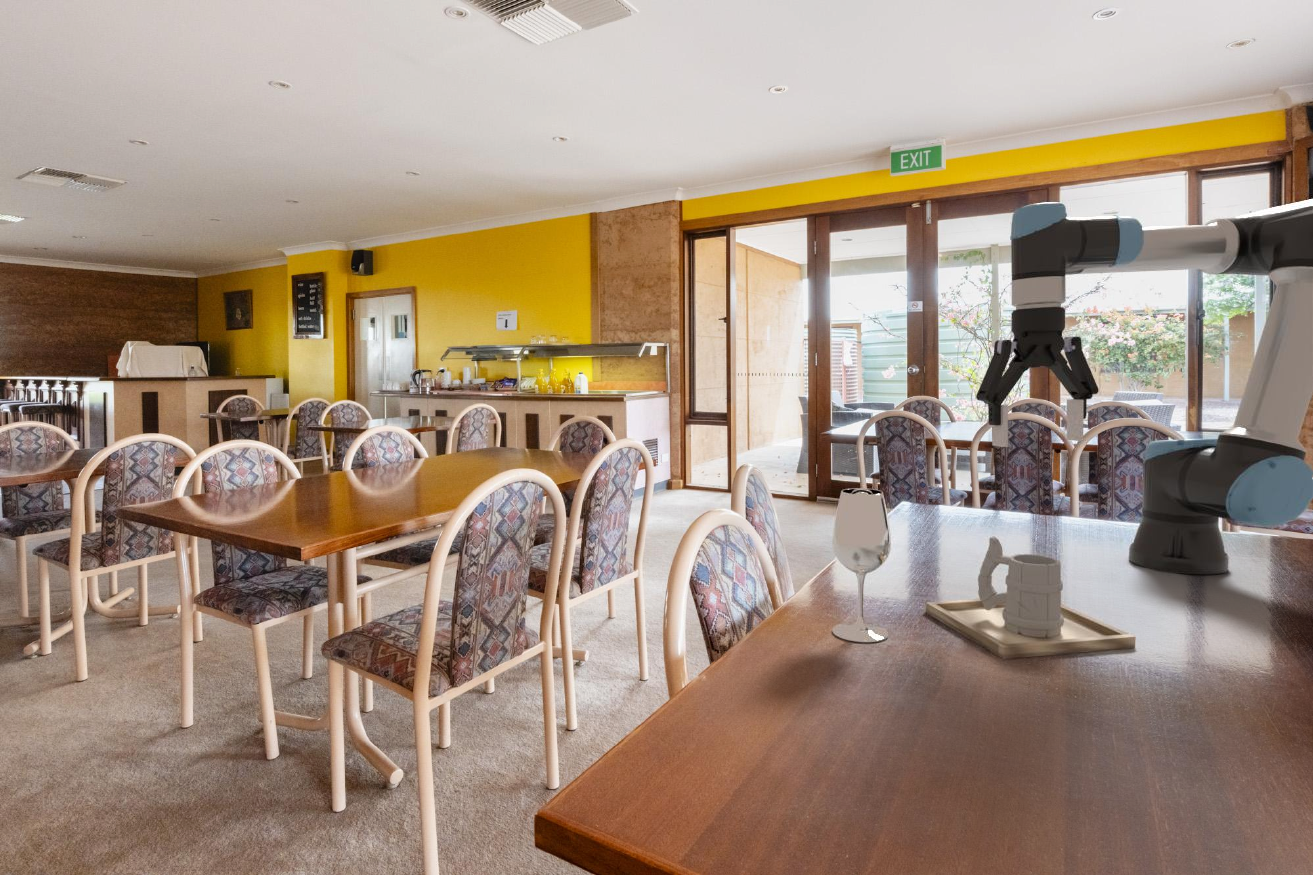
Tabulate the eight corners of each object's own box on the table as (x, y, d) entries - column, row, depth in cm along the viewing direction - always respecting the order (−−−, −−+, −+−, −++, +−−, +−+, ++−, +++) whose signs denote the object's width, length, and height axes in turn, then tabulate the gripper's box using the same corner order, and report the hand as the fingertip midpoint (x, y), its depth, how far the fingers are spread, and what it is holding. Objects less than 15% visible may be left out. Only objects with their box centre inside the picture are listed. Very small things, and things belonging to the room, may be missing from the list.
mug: (1047, 643, 102) (1051, 553, 101) (963, 620, 111) (965, 538, 110) (1073, 630, 107) (1077, 544, 106) (990, 609, 116) (993, 530, 115)
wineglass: (890, 627, 110) (893, 488, 108) (888, 646, 103) (890, 497, 101) (834, 621, 113) (836, 485, 111) (828, 639, 106) (829, 494, 104)
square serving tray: (1039, 603, 120) (1039, 594, 120) (1135, 647, 101) (1135, 636, 101) (925, 612, 117) (925, 602, 116) (1003, 659, 98) (1003, 647, 98)
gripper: (1088, 306, 127) (1087, 435, 129) (952, 311, 121) (953, 446, 123) (1125, 302, 119) (1123, 439, 121) (982, 307, 114) (983, 451, 116)
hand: (1037, 443), depth 122 cm, fingers open, 13 cm apart
